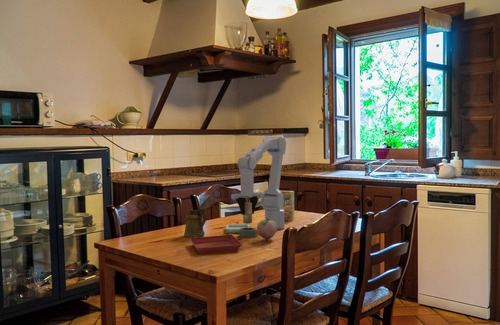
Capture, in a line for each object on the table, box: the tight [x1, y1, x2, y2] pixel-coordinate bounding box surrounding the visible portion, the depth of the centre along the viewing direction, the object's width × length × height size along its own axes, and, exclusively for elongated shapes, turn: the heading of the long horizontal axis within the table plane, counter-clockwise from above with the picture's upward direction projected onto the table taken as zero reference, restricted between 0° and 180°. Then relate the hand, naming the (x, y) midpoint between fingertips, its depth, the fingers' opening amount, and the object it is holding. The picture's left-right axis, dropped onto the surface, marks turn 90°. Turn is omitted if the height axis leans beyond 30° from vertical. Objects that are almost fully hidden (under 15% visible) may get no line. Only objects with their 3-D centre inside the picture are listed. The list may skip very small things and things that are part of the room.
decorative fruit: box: [256, 217, 278, 241], centre depth 193 cm, size 9×8×10 cm
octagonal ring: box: [239, 226, 257, 239], centre depth 202 cm, size 7×7×3 cm
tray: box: [225, 223, 251, 235], centre depth 213 cm, size 11×12×2 cm
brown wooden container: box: [183, 196, 212, 239], centre depth 202 cm, size 9×14×18 cm, turn 61°
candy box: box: [275, 190, 295, 222], centre depth 240 cm, size 9×4×15 cm, turn 70°
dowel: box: [242, 201, 253, 224], centre depth 202 cm, size 4×4×9 cm
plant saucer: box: [189, 234, 243, 255], centre depth 181 cm, size 18×18×3 cm
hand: (247, 214), depth 202 cm, fingers closed on dowel, 4 cm apart
